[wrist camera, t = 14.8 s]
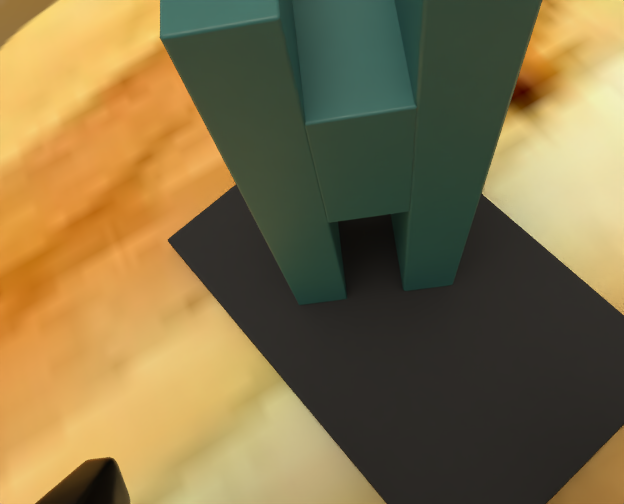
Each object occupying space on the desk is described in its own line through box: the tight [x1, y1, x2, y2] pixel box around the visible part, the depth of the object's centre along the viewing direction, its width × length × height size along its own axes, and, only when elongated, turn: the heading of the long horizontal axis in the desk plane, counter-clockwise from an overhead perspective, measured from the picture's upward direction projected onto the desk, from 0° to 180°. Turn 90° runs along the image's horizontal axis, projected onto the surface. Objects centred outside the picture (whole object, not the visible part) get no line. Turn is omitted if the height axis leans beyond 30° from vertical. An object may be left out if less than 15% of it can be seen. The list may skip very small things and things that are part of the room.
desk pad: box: [168, 185, 624, 504], centre depth 19 cm, size 14×9×1 cm, turn 41°
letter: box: [160, 0, 542, 305], centre depth 14 cm, size 5×4×12 cm
